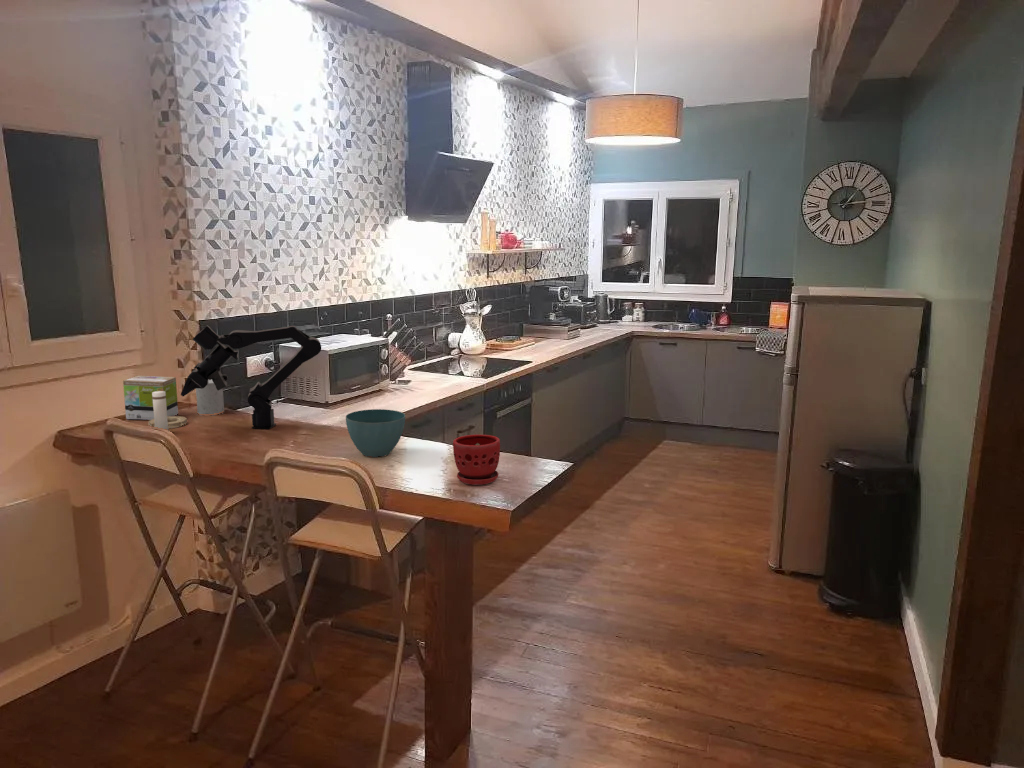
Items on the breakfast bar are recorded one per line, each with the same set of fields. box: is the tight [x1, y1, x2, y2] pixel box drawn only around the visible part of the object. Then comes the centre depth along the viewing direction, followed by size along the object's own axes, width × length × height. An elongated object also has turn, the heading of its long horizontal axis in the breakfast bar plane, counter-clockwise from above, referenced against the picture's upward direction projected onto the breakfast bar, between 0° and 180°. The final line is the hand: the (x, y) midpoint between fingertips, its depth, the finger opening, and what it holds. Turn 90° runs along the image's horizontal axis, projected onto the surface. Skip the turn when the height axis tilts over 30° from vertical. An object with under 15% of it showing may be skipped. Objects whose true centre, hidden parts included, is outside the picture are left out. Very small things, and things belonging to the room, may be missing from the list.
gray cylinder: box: [195, 379, 225, 414], centre depth 278 cm, size 10×10×12 cm
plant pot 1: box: [345, 408, 406, 458], centre depth 229 cm, size 18×18×12 cm
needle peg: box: [152, 391, 169, 431], centre depth 249 cm, size 4×4×14 cm
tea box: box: [122, 375, 179, 421], centre depth 270 cm, size 15×10×15 cm, turn 88°
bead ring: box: [147, 415, 188, 430], centre depth 261 cm, size 12×12×2 cm
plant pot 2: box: [452, 434, 501, 486], centre depth 206 cm, size 13×13×12 cm
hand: (183, 392), depth 250 cm, fingers open, 9 cm apart
